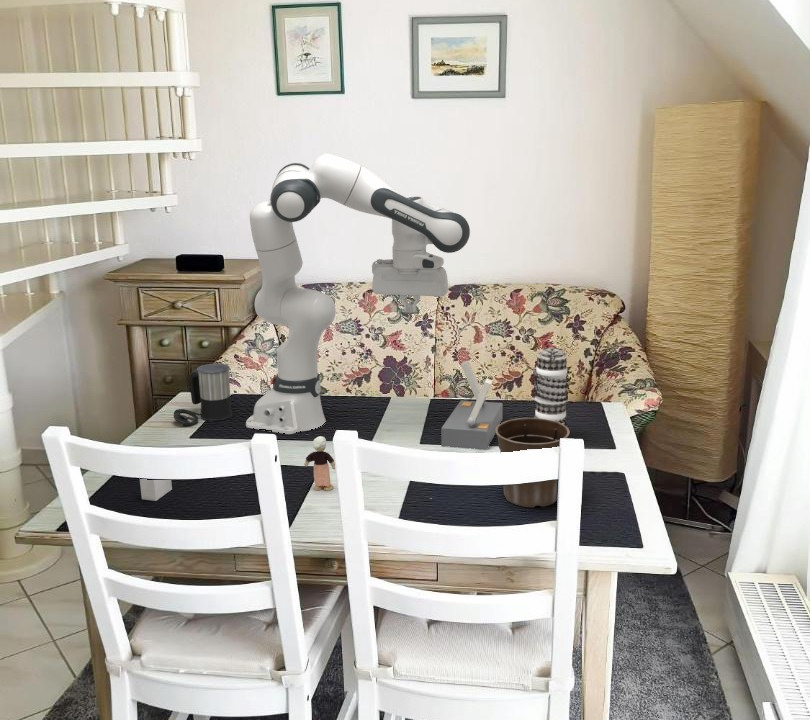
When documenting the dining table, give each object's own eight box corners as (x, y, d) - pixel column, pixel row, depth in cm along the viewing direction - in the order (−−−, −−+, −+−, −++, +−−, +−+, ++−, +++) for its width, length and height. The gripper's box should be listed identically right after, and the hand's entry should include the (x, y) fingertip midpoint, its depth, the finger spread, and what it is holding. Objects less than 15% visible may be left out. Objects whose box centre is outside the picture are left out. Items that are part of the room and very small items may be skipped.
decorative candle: (532, 435, 236) (534, 345, 229) (567, 436, 234) (570, 345, 228) (531, 447, 227) (533, 354, 221) (567, 448, 226) (570, 354, 219)
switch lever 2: (465, 424, 227) (483, 381, 223) (468, 419, 231) (486, 377, 227) (472, 427, 227) (490, 385, 223) (475, 422, 231) (493, 380, 226)
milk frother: (238, 412, 259) (235, 364, 255) (213, 430, 245) (209, 379, 241) (195, 409, 263) (190, 361, 259) (168, 426, 248) (163, 376, 244)
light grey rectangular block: (172, 489, 206) (168, 449, 203) (155, 501, 199) (151, 459, 197) (158, 487, 207) (154, 447, 204) (141, 499, 200) (137, 458, 198)
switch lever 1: (477, 406, 243) (459, 365, 242) (480, 402, 247) (462, 362, 245) (484, 404, 242) (466, 363, 241) (487, 400, 246) (469, 359, 245)
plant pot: (552, 518, 187) (554, 447, 182) (483, 504, 194) (483, 435, 190) (577, 490, 200) (579, 424, 196) (511, 478, 208) (512, 413, 204)
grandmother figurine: (338, 484, 206) (336, 433, 203) (337, 491, 203) (334, 439, 199) (306, 484, 206) (303, 434, 203) (303, 491, 203) (301, 439, 199)
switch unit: (441, 446, 229) (441, 427, 228) (460, 416, 251) (460, 399, 250) (486, 449, 226) (486, 430, 224) (502, 419, 248) (502, 402, 247)
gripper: (368, 260, 230) (369, 312, 234) (443, 262, 225) (444, 315, 228) (375, 257, 236) (376, 307, 240) (449, 258, 230) (449, 310, 234)
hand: (410, 311), depth 234 cm, fingers closed
